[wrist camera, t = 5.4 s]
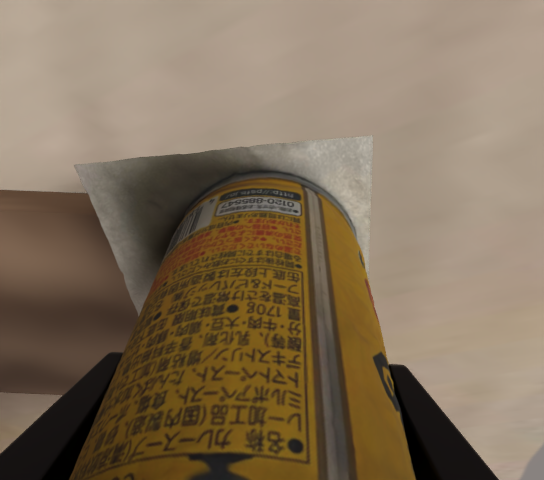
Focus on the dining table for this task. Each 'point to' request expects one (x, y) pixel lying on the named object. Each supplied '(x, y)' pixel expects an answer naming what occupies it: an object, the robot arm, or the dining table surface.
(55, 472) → the robot arm
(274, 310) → the condiment
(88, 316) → the stand
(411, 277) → the dining table surface
